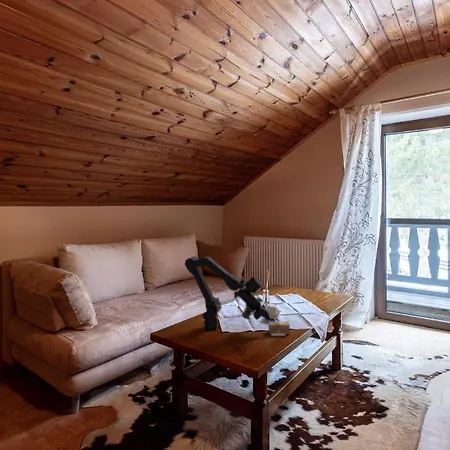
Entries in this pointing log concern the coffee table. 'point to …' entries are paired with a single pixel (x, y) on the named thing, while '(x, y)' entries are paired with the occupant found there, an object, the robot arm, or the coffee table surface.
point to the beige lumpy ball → (273, 311)
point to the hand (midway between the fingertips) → (269, 319)
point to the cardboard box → (279, 328)
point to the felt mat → (278, 334)
